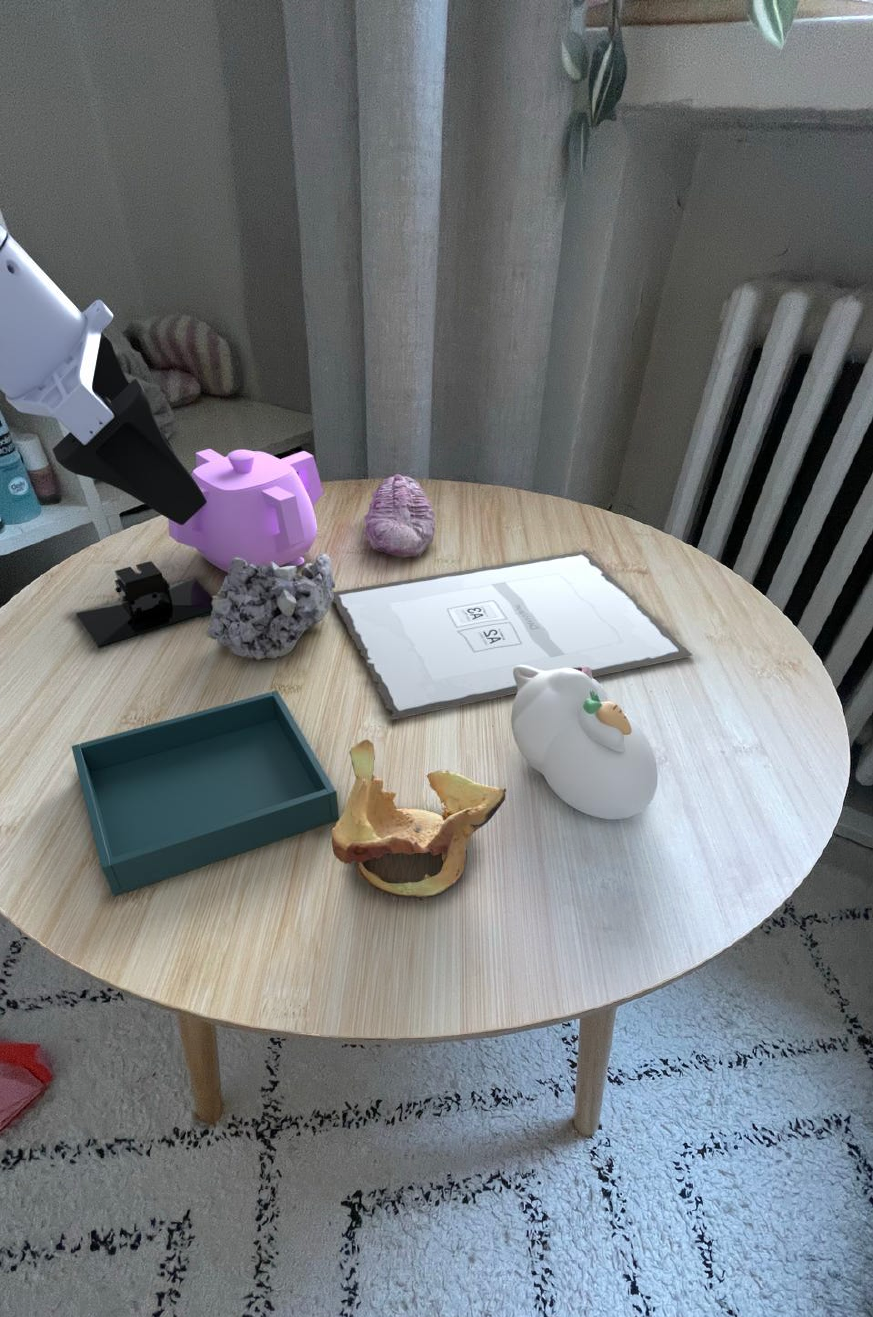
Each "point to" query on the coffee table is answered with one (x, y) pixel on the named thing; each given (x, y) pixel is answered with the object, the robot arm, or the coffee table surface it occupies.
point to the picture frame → (497, 630)
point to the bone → (411, 824)
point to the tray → (200, 789)
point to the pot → (253, 508)
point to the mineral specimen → (269, 606)
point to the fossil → (400, 518)
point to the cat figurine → (582, 742)
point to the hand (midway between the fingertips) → (177, 486)
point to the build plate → (144, 606)
